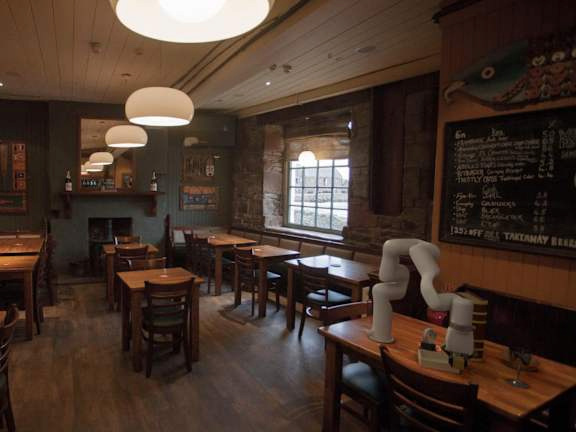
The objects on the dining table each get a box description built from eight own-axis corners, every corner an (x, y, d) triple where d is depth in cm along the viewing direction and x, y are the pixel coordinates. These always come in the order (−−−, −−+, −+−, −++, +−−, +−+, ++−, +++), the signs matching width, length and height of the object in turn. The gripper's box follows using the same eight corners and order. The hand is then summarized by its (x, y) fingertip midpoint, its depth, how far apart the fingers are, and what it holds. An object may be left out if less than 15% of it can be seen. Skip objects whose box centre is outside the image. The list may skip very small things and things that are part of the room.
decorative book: (485, 362, 189) (490, 302, 187) (467, 360, 191) (471, 301, 188) (463, 344, 211) (467, 289, 209) (447, 342, 213) (450, 289, 210)
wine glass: (501, 379, 173) (503, 346, 171) (517, 379, 173) (520, 346, 172) (517, 388, 165) (520, 354, 163) (535, 388, 165) (537, 354, 164)
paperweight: (452, 368, 171) (453, 359, 171) (451, 364, 175) (451, 355, 174) (463, 370, 169) (464, 361, 169) (461, 366, 173) (462, 357, 173)
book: (420, 366, 184) (420, 358, 184) (417, 356, 196) (418, 348, 195) (459, 373, 178) (460, 365, 177) (454, 362, 189) (455, 354, 189)
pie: (528, 360, 192) (528, 350, 191) (548, 375, 177) (549, 364, 176) (491, 356, 196) (492, 347, 195) (508, 371, 181) (509, 360, 180)
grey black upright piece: (438, 349, 204) (439, 329, 203) (428, 352, 200) (429, 331, 199) (427, 345, 209) (428, 325, 208) (418, 348, 205) (419, 327, 204)
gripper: (482, 327, 170) (478, 367, 172) (437, 320, 177) (434, 359, 179) (486, 333, 163) (482, 374, 165) (439, 326, 170) (436, 366, 172)
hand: (457, 366), depth 172 cm, fingers closed on paperweight, 4 cm apart
